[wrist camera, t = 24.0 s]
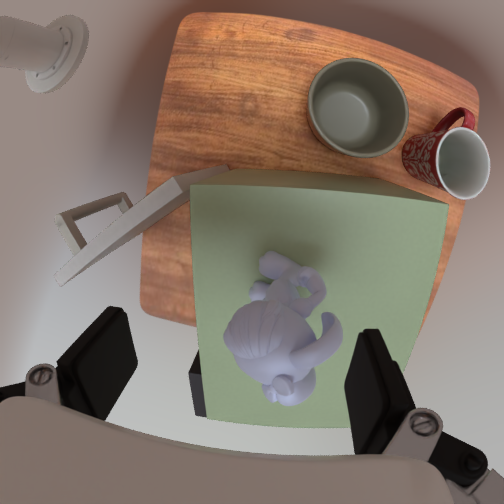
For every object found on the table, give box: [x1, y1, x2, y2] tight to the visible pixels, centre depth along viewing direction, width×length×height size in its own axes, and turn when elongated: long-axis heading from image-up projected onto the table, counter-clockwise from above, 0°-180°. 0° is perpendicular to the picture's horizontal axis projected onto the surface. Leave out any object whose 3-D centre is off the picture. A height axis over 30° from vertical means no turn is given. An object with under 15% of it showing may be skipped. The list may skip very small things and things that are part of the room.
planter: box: [306, 58, 409, 158], centre depth 34 cm, size 12×12×11 cm
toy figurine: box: [223, 251, 343, 406], centre depth 19 cm, size 7×6×12 cm
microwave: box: [189, 169, 449, 428], centre depth 37 cm, size 24×28×22 cm
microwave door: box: [54, 164, 230, 287], centre depth 35 cm, size 7×20×22 cm, turn 121°
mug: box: [402, 107, 490, 200], centre depth 32 cm, size 13×9×14 cm
